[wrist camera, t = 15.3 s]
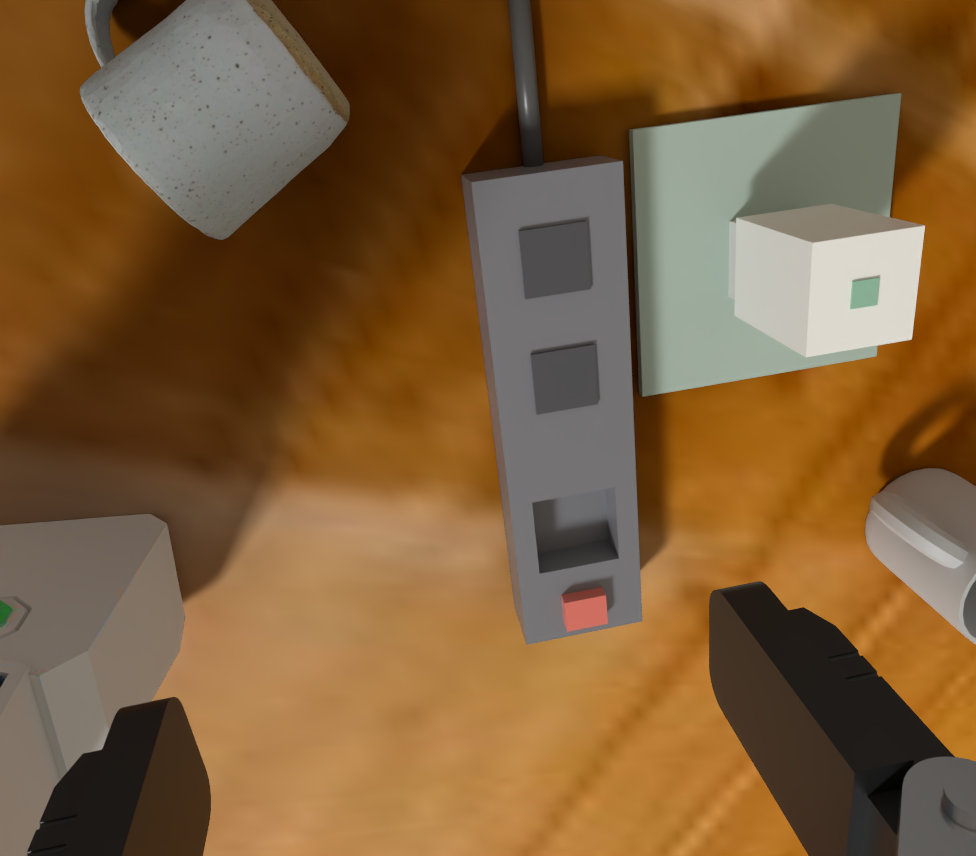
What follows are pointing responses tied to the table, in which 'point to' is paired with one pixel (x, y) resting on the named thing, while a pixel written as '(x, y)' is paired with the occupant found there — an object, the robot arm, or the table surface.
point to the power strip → (558, 372)
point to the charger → (826, 277)
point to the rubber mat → (724, 197)
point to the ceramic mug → (213, 106)
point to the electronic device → (76, 647)
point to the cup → (930, 540)
